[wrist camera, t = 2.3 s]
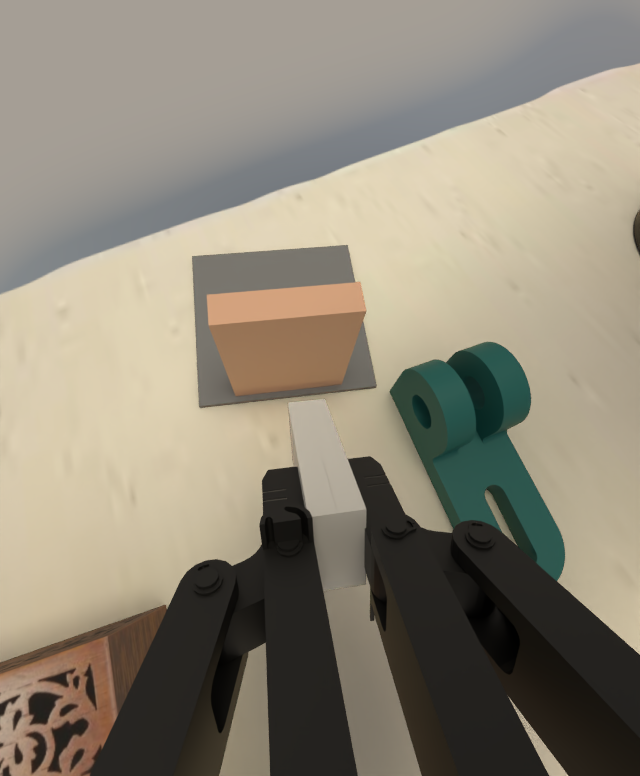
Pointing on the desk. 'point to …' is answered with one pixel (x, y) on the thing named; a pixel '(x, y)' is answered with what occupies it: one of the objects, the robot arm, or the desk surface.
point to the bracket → (478, 444)
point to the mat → (264, 275)
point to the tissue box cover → (69, 697)
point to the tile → (286, 335)
